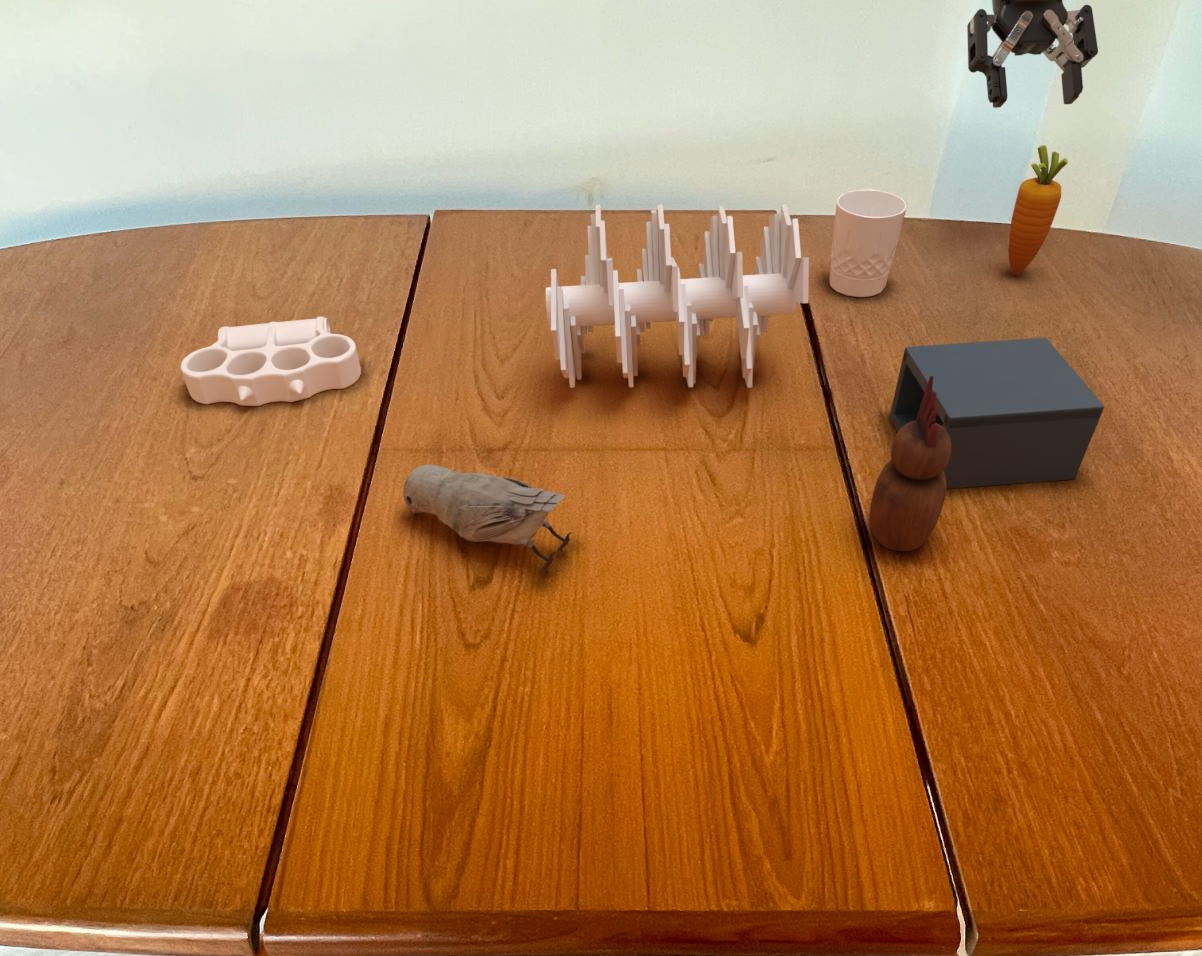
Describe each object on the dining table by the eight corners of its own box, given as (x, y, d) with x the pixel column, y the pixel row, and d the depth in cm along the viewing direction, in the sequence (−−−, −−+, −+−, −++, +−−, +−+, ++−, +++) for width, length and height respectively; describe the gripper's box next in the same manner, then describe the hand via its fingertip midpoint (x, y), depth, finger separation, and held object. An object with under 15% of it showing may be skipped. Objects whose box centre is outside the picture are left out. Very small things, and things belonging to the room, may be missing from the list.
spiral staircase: (559, 385, 111) (780, 372, 110) (548, 407, 95) (808, 392, 94) (547, 213, 105) (780, 198, 104) (533, 204, 89) (810, 186, 88)
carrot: (1042, 283, 119) (1084, 156, 108) (1002, 285, 119) (1040, 157, 108) (1027, 264, 122) (1065, 139, 112) (988, 266, 122) (1023, 141, 112)
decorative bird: (429, 496, 91) (417, 429, 86) (580, 548, 85) (578, 480, 80) (394, 530, 87) (380, 462, 82) (550, 587, 82) (545, 518, 77)
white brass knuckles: (359, 332, 112) (362, 401, 102) (198, 349, 110) (184, 422, 100) (354, 305, 110) (356, 373, 100) (188, 322, 108) (173, 394, 97)
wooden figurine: (872, 506, 89) (907, 360, 78) (937, 521, 87) (981, 374, 77) (856, 552, 84) (891, 404, 74) (924, 569, 83) (969, 420, 72)
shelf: (1022, 407, 100) (1046, 337, 94) (1074, 479, 91) (1104, 406, 86) (888, 417, 99) (905, 346, 93) (929, 490, 90) (950, 417, 85)
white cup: (857, 264, 123) (872, 183, 116) (903, 288, 118) (921, 206, 111) (810, 280, 120) (822, 199, 113) (855, 306, 115) (871, 223, 108)
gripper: (979, -57, 109) (991, 88, 109) (1102, -62, 110) (1114, 82, 109) (951, -14, 116) (962, 122, 116) (1066, -19, 117) (1078, 116, 117)
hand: (1036, 102), depth 113 cm, fingers open, 8 cm apart
